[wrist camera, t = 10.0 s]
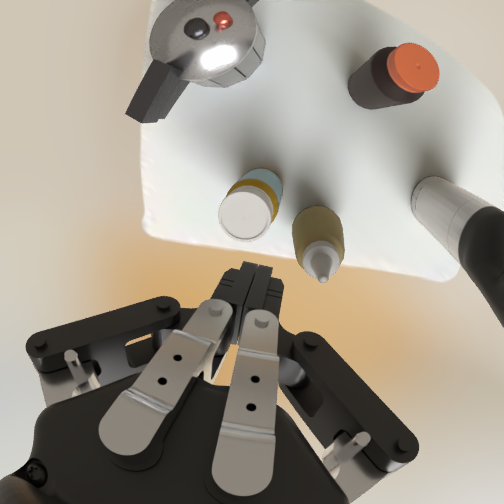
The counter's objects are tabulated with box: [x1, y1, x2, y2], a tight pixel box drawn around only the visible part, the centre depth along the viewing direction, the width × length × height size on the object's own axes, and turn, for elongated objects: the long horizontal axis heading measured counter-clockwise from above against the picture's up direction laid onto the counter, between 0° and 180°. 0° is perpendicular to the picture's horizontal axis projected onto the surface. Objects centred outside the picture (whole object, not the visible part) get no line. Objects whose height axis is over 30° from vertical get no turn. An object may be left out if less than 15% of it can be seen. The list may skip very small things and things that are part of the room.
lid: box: [125, 0, 257, 123], centre depth 26 cm, size 21×15×5 cm
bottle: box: [218, 168, 283, 242], centre depth 38 cm, size 7×7×15 cm
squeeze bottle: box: [292, 206, 345, 283], centre depth 37 cm, size 8×8×18 cm
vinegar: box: [348, 43, 439, 109], centre depth 25 cm, size 7×7×20 cm
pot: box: [159, 0, 265, 119], centre depth 32 cm, size 24×14×9 cm, turn 142°
